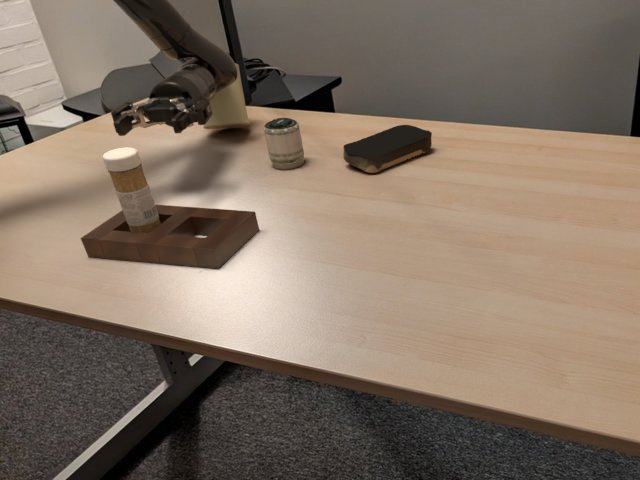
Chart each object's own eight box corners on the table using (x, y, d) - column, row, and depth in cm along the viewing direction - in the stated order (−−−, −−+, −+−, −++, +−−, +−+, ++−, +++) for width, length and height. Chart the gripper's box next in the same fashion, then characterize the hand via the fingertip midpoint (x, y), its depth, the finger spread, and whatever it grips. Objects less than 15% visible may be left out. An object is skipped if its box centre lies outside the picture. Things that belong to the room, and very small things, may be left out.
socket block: (88, 257, 93) (80, 238, 92) (139, 220, 103) (132, 202, 101) (218, 269, 89) (213, 249, 87) (259, 229, 98) (255, 211, 96)
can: (197, 127, 130) (184, 63, 127) (211, 130, 139) (199, 70, 136) (243, 122, 130) (231, 58, 127) (254, 125, 139) (243, 65, 136)
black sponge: (406, 141, 127) (404, 122, 125) (436, 151, 122) (435, 131, 120) (340, 166, 118) (337, 146, 116) (369, 177, 113) (367, 157, 111)
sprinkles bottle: (156, 230, 99) (127, 143, 92) (172, 238, 97) (143, 150, 89) (128, 241, 97) (95, 153, 89) (143, 250, 94) (111, 160, 86)
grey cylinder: (264, 168, 119) (255, 125, 114) (282, 156, 123) (273, 114, 119) (295, 171, 117) (286, 127, 112) (311, 159, 122) (304, 116, 117)
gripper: (132, 76, 109) (91, 104, 96) (217, 72, 109) (187, 100, 96) (146, 121, 113) (108, 154, 100) (228, 118, 113) (200, 150, 100)
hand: (147, 128), depth 98 cm, fingers open, 8 cm apart
